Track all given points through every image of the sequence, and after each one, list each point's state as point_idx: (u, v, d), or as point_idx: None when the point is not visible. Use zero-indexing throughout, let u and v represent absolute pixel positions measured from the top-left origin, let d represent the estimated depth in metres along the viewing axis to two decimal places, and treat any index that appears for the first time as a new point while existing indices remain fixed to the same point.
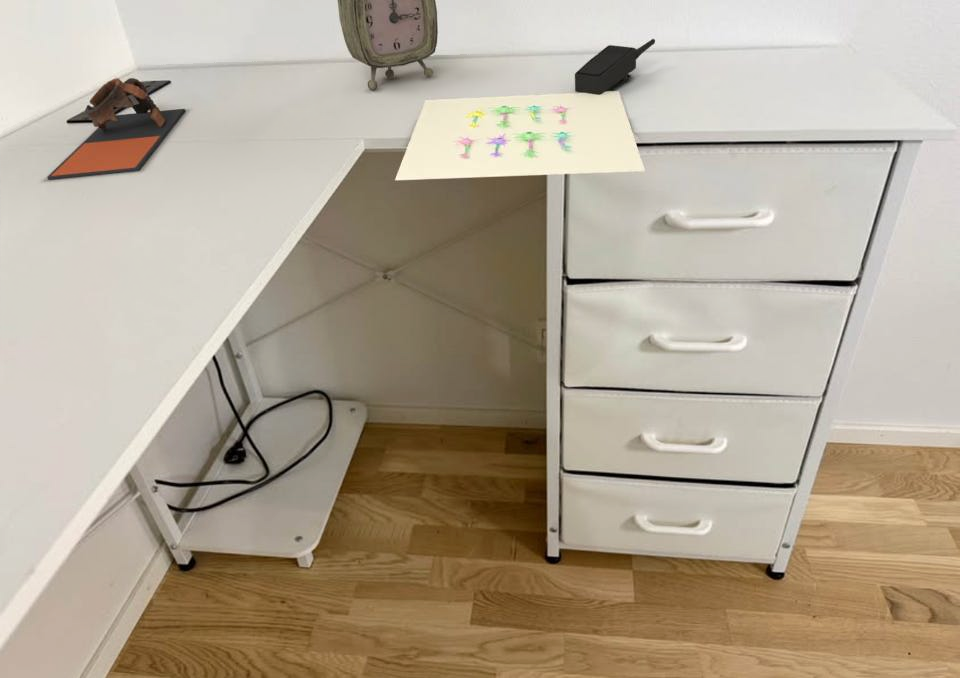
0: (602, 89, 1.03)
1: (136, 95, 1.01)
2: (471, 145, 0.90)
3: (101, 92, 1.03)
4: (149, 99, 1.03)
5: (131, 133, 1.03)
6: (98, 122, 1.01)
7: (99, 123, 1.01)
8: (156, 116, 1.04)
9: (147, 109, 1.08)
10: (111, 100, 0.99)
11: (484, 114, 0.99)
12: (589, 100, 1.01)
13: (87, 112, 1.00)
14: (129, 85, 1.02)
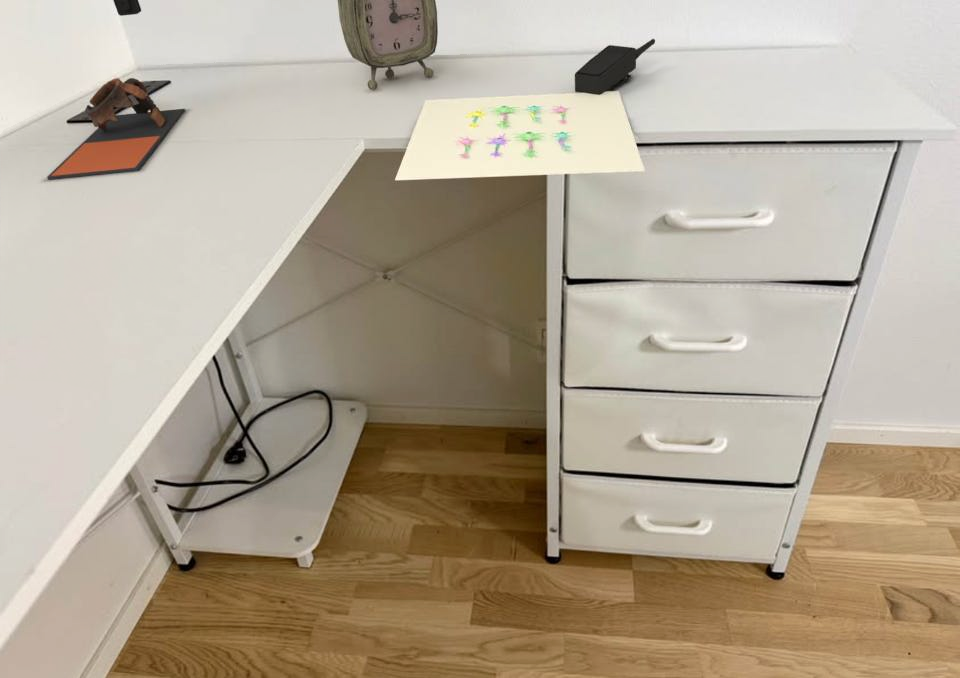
0: (601, 89, 1.03)
1: (136, 95, 1.01)
2: (471, 145, 0.90)
3: (101, 92, 1.03)
4: (149, 99, 1.03)
5: (131, 133, 1.03)
6: (98, 122, 1.01)
7: (99, 123, 1.01)
8: (156, 116, 1.04)
9: (147, 109, 1.08)
10: (111, 100, 0.99)
11: (484, 114, 0.99)
12: (589, 100, 1.01)
13: (87, 112, 1.00)
14: (129, 85, 1.02)
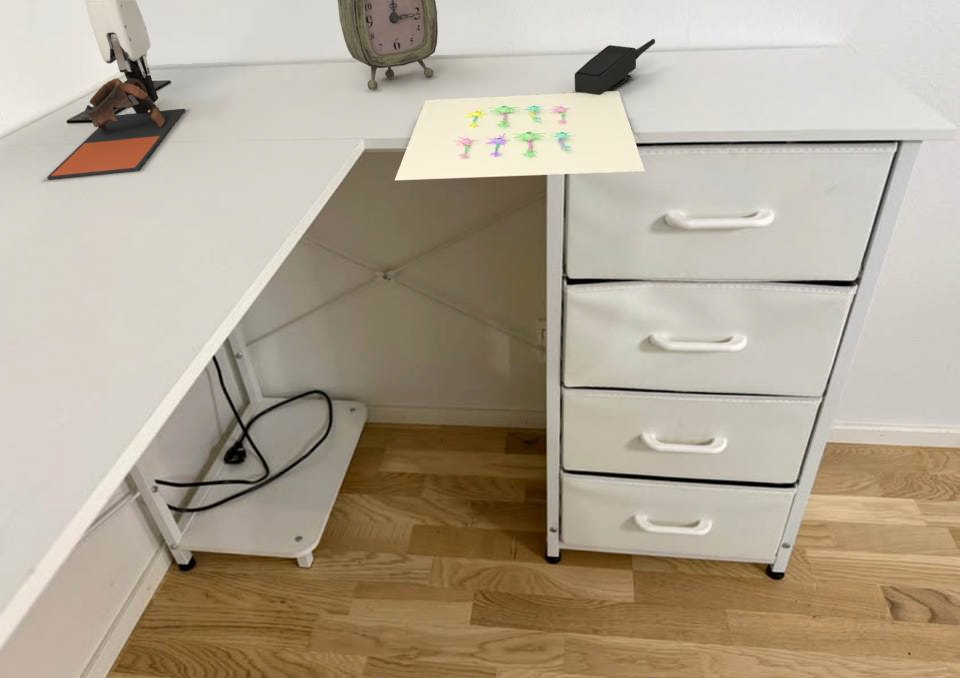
0: (601, 89, 1.03)
1: (136, 95, 1.01)
2: (471, 145, 0.90)
3: (101, 92, 1.03)
4: (149, 99, 1.03)
5: (131, 133, 1.03)
6: (98, 122, 1.01)
7: (99, 123, 1.01)
8: (156, 116, 1.04)
9: (147, 109, 1.08)
10: (111, 100, 0.99)
11: (484, 114, 0.99)
12: (589, 100, 1.01)
13: (87, 112, 1.00)
14: (129, 85, 1.02)
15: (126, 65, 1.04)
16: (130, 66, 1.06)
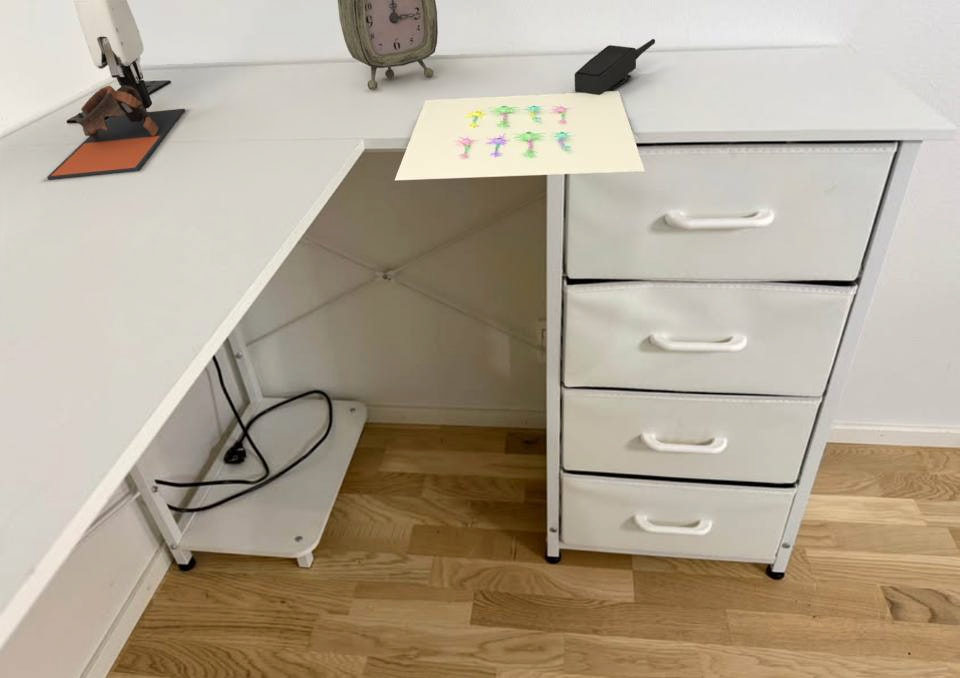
0: (601, 89, 1.03)
1: (128, 103, 0.98)
2: (471, 145, 0.90)
3: (93, 100, 1.00)
4: (142, 107, 1.00)
5: (131, 133, 1.03)
6: (89, 131, 0.97)
7: (90, 132, 0.97)
8: (149, 125, 1.00)
9: (141, 117, 1.05)
10: (102, 109, 0.96)
11: (484, 114, 0.99)
12: (589, 100, 1.01)
13: (77, 121, 0.97)
14: (121, 93, 0.99)
15: (118, 70, 1.01)
16: (122, 71, 1.02)
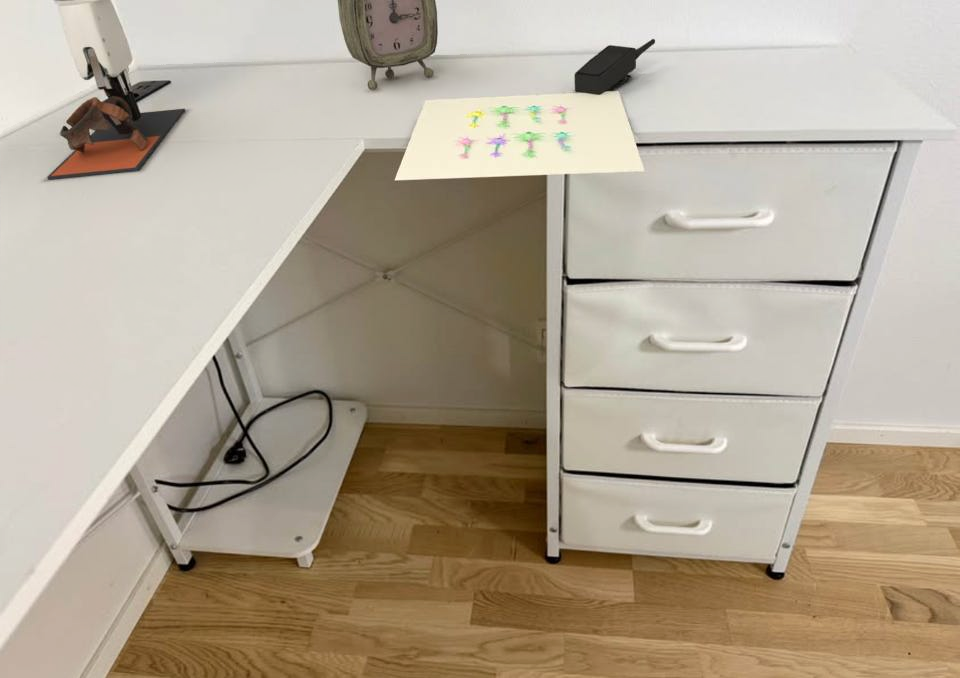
0: (601, 89, 1.03)
1: (114, 116, 0.93)
2: (471, 145, 0.90)
3: (79, 112, 0.96)
4: (129, 120, 0.95)
5: (131, 133, 1.03)
6: (73, 145, 0.93)
7: (74, 146, 0.93)
8: (137, 139, 0.96)
9: (130, 130, 1.00)
10: (86, 122, 0.91)
11: (484, 114, 0.99)
12: (589, 100, 1.01)
13: (61, 134, 0.93)
14: (108, 105, 0.94)
15: (105, 82, 0.96)
16: (110, 82, 0.98)
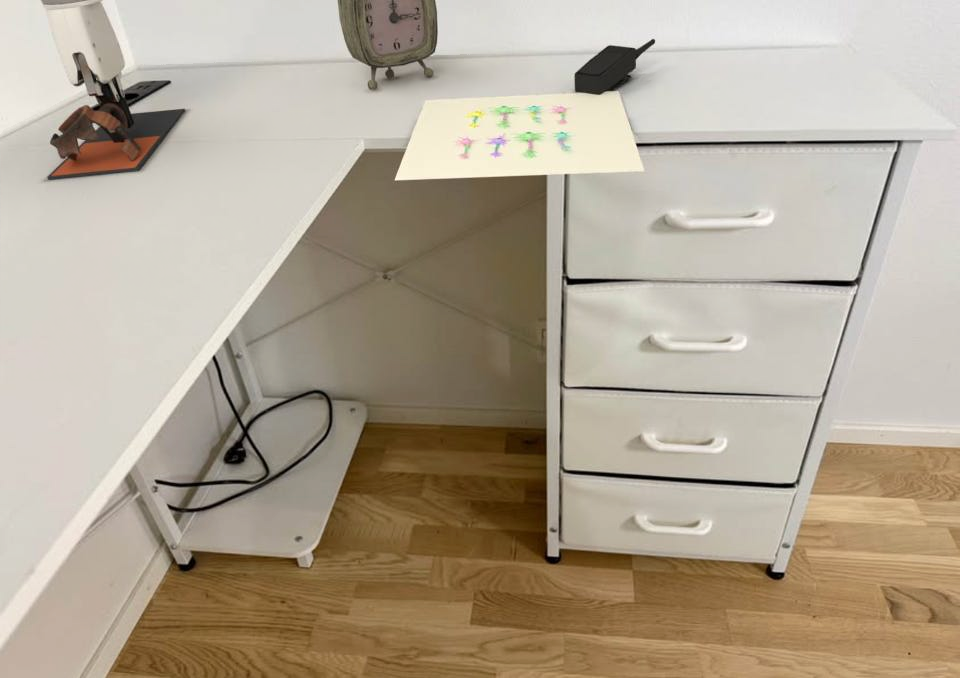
0: (601, 89, 1.03)
1: (104, 125, 0.90)
2: (471, 145, 0.90)
3: (71, 119, 0.93)
4: (120, 129, 0.92)
5: (131, 133, 1.03)
6: (61, 154, 0.90)
7: (62, 155, 0.90)
8: (128, 149, 0.93)
9: None
10: (74, 131, 0.88)
11: (484, 114, 0.99)
12: (589, 100, 1.01)
13: (50, 142, 0.90)
14: (99, 113, 0.91)
15: (96, 88, 0.93)
16: (101, 89, 0.95)
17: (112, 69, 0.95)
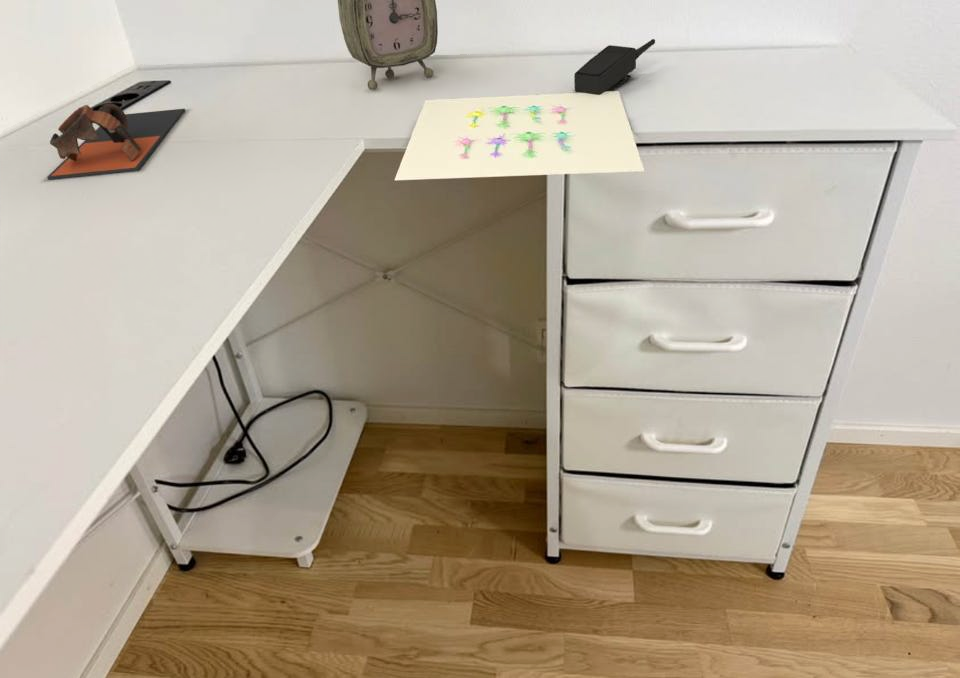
0: (601, 89, 1.02)
1: (104, 125, 0.90)
2: (471, 145, 0.90)
3: (71, 119, 0.93)
4: (120, 129, 0.92)
5: (131, 133, 1.03)
6: (61, 154, 0.90)
7: (62, 155, 0.90)
8: (128, 149, 0.93)
9: None
10: (74, 131, 0.88)
11: (484, 114, 0.99)
12: (589, 100, 1.01)
13: (50, 142, 0.90)
14: (99, 113, 0.91)
15: None
16: None
17: None
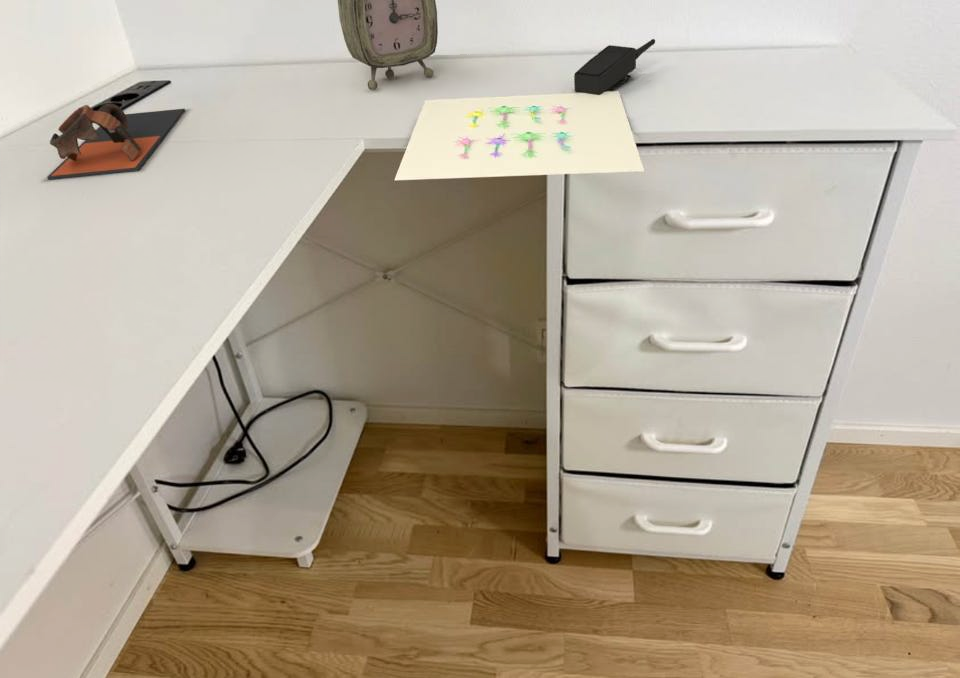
0: (601, 89, 1.02)
1: (104, 125, 0.90)
2: (471, 145, 0.90)
3: (71, 119, 0.93)
4: (120, 129, 0.92)
5: (131, 133, 1.03)
6: (61, 154, 0.90)
7: (62, 155, 0.90)
8: (128, 149, 0.93)
9: None
10: (74, 131, 0.88)
11: (484, 114, 0.99)
12: (589, 100, 1.01)
13: (50, 142, 0.90)
14: (99, 113, 0.91)
15: None
16: None
17: None
